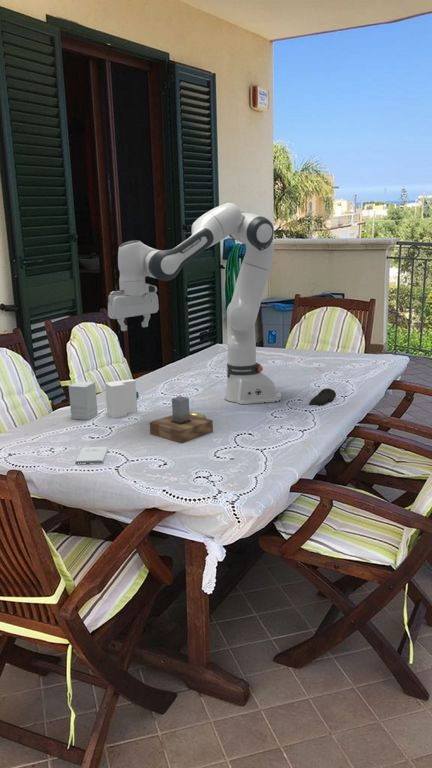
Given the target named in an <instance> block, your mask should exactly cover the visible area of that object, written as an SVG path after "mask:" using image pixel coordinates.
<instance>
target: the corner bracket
mask: <svg viewBox="0 0 432 768" xmlns="http://www.w3.org/2000/svg"><path fill="white" fill-rule="evenodd" d="M104 384H105V385H104V387H105V401H106V413H107V415H109V416H110V418H112V419H117V418H122V417H123V418H124V417H127V416H128V415H127V414H131V413H137V412H138V404H137V403H138V400H137V399H138V398H136V392H137V383H136V380H135V379H133V378H130V379H122V380H116V381H115V380H114V381H109V382H105V383H104Z"/></svg>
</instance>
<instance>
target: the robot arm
mask: <svg viewBox="0 0 432 768" xmlns="http://www.w3.org/2000/svg"><path fill="white" fill-rule="evenodd" d="M274 231H275V230H274V225H273V223H272V222H271V221H270V220H269V218H266V216H265V217H264V216H261V215H258V214H255V213H251V212H249V213H248V212H245V211H241V209H240V207H239V206H238V205H236V204H235V203H233V202H227V203H226V202H225V203H223V204H220V205H218V206H216V207H214V208H212V209H210V210H208V211H207V212H205V213H204V214H202V215H201V216H199V217H198V218H196V220H195V221H194V222H193V223H192V225H191V235H190V236H189V237H188V238H187V239H185V240H184V241H182V242H181V243H180V244H178V245H177V246H175V247H174V248H171V249H164V250H161V249H157V248H153V247H150V246H148V245H147V244H144V243H143V242H142V241H141V240H136V239H134V240H128V241H125V242H123V243H121V244H119V247H118V250H117V251H118V252H117V267H118V271H119V279H118V283H119V284H118V286H119V290H116V291H115V290H112V291H111V292H110V293H109V295H108V297H107V298H108V303H107V317H108V318H109V319H110V320H111V319H112V320H117V323H118V324H119V326H120V331H122V332H125V331H128V325H127V324H126V323H125V319H126V318H130V317H138V316H143V321H141V327H142V328H148V327H149V321H150V319H151V314H157V313H158V311H159V309H160V308H159V306H160V305H159V298H158V297H159V296H158V294H157V292H158V287H157V286H156V285H152V284H150V283H146V277H149V278H153V279H156V280H157V279H158V280H159V281H162V282H168V281H172V280H173V279H175V277H177V276H178V274H180V271H181V270H182V268H183V267H184V266H185V265H186V264H188V263H189V262H190V261H191V260H193V259H194V258H195V257H197V256H198V255H199V254H201V253H202V252H204V251H205V250H206V249H209V248H210V247H212V246H214V245H216V244H218V243H219V242H221V241H222V240H225V239H226V238H227V237H228V236H229V237H230V238H231V239H233V240H235V241H238V242H240V243H242V244H245V248H246V249H245V254H244V256H243V259H242V262H241V266H240V269H239V272H238V275H237V278H236V282H235V286H234V290H233V294H232V298H231V301H230V303H228V305H227V308H226V330H227V331H226V335H227V337H226V338H227V339H226V340H227V364H226V377H227V385H226V390H225V395H224V399H225V400H226V401H228V402H233V403H237V404H240V405H251V404H263V403H264V402H265V403H275V401H277V402H279V400H280V401H281V400H282V394H281V393H280V392H279V391H278V390H277V389H276V384H275V382H274V381H273V380H272V379H271V378H270V377H268V376H267V375H266V374H264V373H263V372H262V371H264V370H263V369H264V367H263V366H262V365H261V364H260V363H259V362H256V361H257V346H256V345H257V344H256V343H257V342H256V327H255V326H256V322H257V318H258V314H259V312H260V307H261V303H262V299H263V295H264V291H265V287H266V286H267V285H266V284H267V281H268V278H269V277H270V276H269V275H270V272H271V268H272V265H273V261H274V257H275V249H276V247H275V243H274V242H273V240H274V233H275V232H274Z"/></svg>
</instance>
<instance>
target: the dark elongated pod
mask: <svg viewBox="0 0 432 768" xmlns="http://www.w3.org/2000/svg"><path fill="white" fill-rule="evenodd" d="M336 395H337V393H336V391H335V390H334V389H332V388H323V389H321V391H319V392H318V394H317V395H315V396H314V397H312V398H311V400H310V401H309V403H308V405H309V406H312V405H313V406H314V405H316V406H318V407H320V405H322V406H324V404H325V403H326V404H327V403H332V401H333V400H335V399H336ZM334 398H335V399H334ZM327 401H328V402H327ZM333 402H334V401H333ZM326 404H325V405H326Z"/></svg>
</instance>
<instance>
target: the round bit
mask: <svg viewBox="0 0 432 768" xmlns="http://www.w3.org/2000/svg"><path fill="white" fill-rule="evenodd" d="M189 414H191V415H194V416H198V417H202V418H206V415H205V414H202V413H199V412H195V411H191V410H189ZM206 419H207V418H206Z"/></svg>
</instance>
